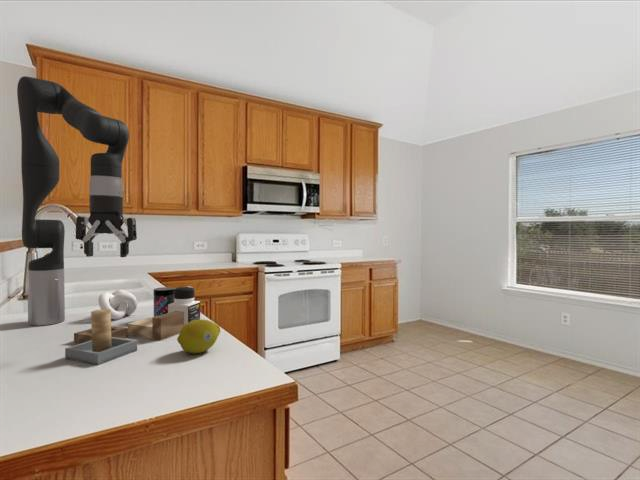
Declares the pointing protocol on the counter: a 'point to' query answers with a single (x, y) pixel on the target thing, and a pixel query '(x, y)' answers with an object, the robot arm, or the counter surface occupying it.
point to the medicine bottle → (185, 304)
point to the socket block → (87, 334)
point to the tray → (88, 356)
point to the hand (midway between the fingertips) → (106, 256)
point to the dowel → (101, 330)
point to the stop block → (167, 325)
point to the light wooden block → (141, 328)
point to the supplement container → (162, 300)
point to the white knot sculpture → (118, 303)
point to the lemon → (198, 336)
